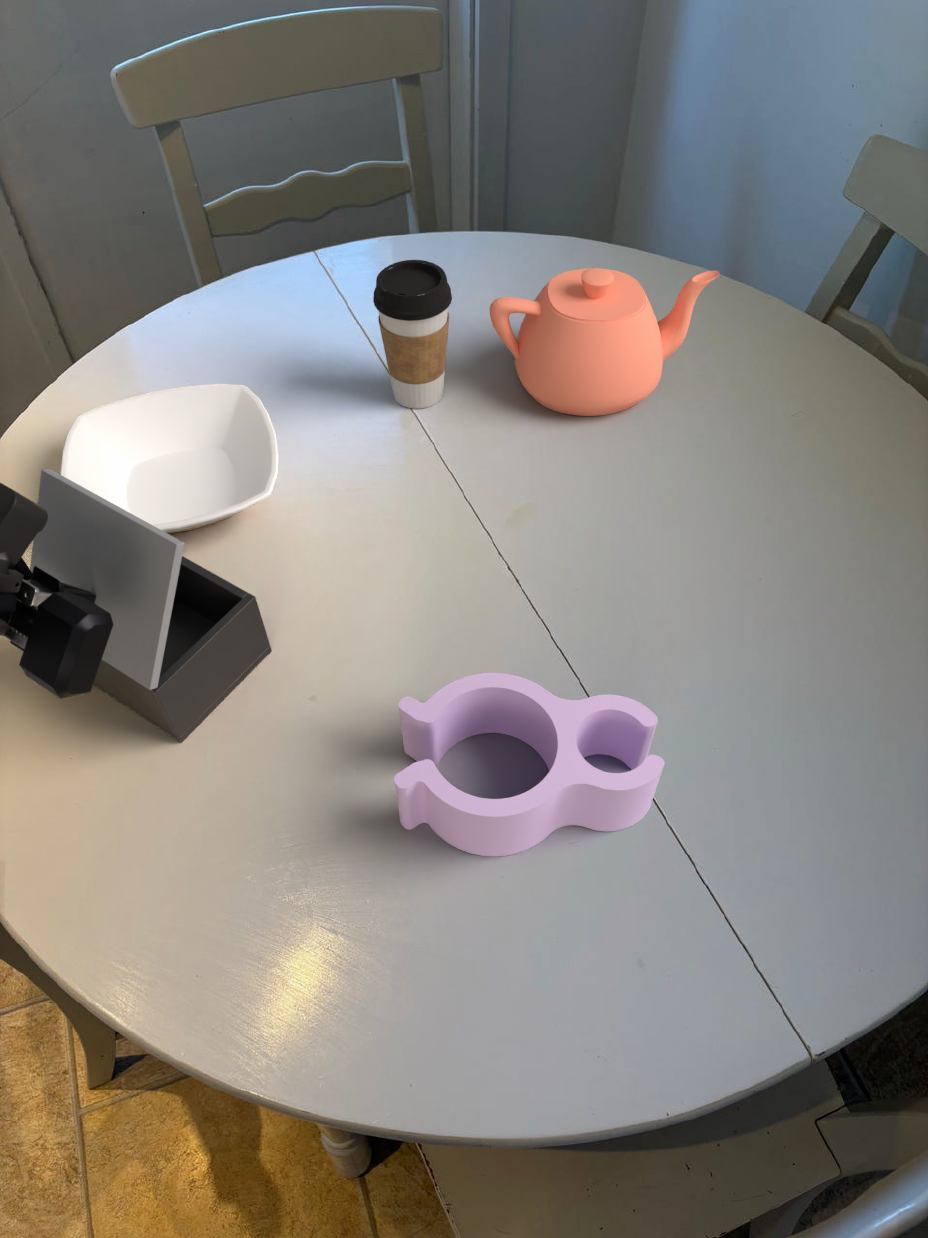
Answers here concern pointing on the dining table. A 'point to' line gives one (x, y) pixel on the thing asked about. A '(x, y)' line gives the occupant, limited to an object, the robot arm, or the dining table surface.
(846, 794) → the dining table surface
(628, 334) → the teapot
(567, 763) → the clip
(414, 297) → the coffee cup
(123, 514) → the box lid
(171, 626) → the grey hinged lid box
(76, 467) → the bowl
